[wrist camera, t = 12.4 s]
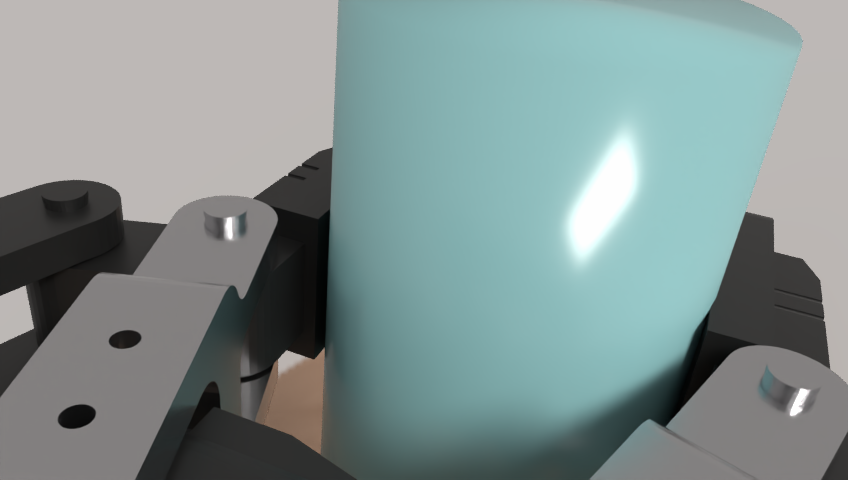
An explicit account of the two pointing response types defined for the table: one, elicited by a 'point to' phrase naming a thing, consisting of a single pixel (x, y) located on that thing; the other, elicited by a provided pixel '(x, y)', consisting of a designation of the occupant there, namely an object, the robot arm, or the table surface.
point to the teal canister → (532, 223)
